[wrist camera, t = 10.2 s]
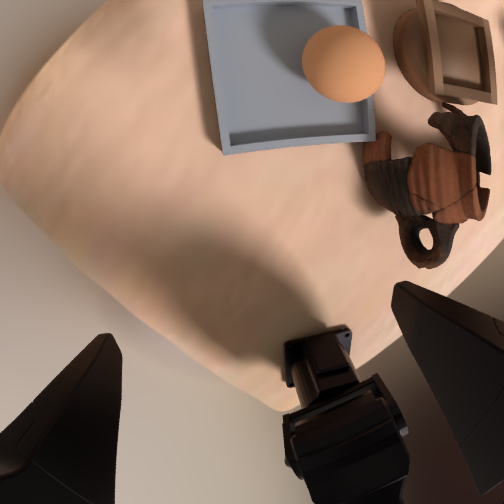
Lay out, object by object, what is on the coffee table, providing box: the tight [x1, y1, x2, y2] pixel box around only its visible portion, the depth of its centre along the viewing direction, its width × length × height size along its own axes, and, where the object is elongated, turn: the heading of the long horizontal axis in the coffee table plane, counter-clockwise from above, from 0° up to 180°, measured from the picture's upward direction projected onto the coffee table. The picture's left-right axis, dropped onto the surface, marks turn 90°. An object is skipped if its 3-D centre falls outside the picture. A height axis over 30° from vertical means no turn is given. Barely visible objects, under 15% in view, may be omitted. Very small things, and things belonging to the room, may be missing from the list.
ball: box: [302, 25, 385, 103], centre depth 15 cm, size 5×5×5 cm
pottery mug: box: [363, 102, 491, 269], centre depth 19 cm, size 12×10×8 cm
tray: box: [203, 0, 376, 156], centre depth 16 cm, size 10×10×2 cm
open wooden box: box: [393, 0, 497, 105], centre depth 15 cm, size 8×8×4 cm
